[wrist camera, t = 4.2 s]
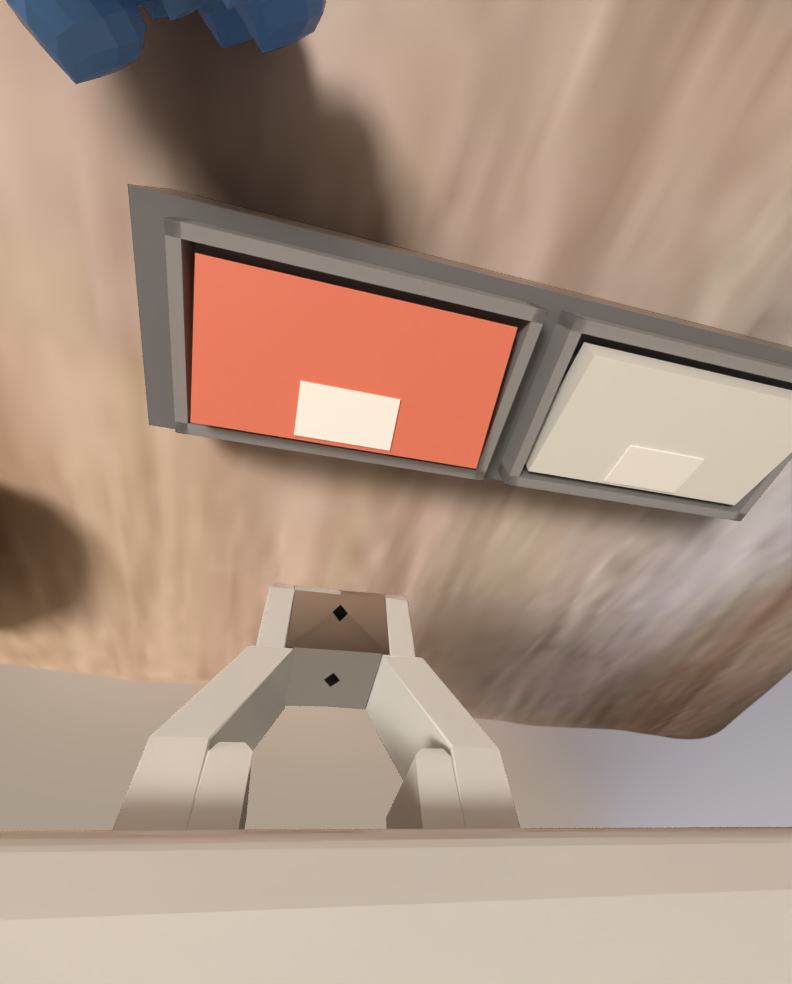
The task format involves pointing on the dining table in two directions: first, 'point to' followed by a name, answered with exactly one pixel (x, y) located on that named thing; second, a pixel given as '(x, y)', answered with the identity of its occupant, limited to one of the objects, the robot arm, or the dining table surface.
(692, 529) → the dining table surface
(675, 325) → the rocker switch panel
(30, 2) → the grapes
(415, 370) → the red rocker
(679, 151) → the dining table surface
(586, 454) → the cream rocker
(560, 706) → the dining table surface
